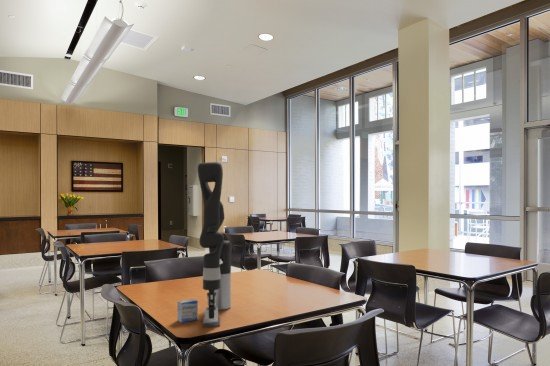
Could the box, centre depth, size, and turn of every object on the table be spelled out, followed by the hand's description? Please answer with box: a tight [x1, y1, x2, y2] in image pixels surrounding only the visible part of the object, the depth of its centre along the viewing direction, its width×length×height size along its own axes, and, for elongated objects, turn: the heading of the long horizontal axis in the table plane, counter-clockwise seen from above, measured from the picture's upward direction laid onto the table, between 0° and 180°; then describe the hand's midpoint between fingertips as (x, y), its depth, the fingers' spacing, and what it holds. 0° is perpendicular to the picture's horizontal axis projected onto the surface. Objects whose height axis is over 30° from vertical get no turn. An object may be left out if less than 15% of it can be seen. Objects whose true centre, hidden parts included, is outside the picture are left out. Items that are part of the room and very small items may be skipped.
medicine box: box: [176, 298, 199, 324], centre depth 174 cm, size 8×4×9 cm, turn 126°
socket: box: [204, 306, 219, 323], centre depth 168 cm, size 6×6×5 cm
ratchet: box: [202, 317, 221, 328], centre depth 172 cm, size 15×7×4 cm, turn 9°
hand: (211, 315), depth 168 cm, fingers open, 8 cm apart
